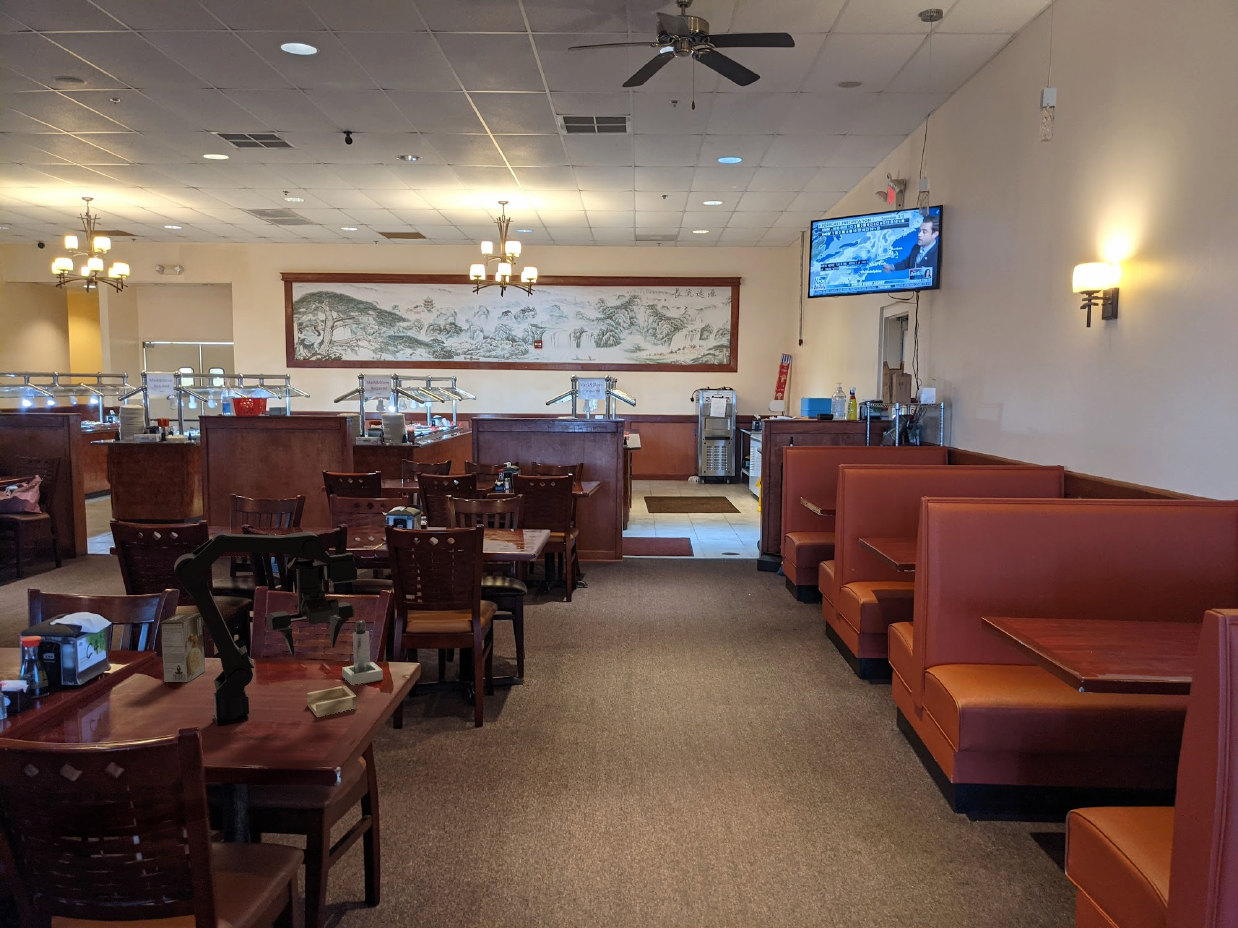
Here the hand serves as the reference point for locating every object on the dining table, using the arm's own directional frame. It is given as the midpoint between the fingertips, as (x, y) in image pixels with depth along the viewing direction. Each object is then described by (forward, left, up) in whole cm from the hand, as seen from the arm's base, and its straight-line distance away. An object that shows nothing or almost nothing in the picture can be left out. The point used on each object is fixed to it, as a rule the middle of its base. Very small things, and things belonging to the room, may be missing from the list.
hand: (312, 650), depth 200 cm
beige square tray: (+3, -4, -13) cm, 14 cm away
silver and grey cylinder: (+15, +12, -13) cm, 23 cm away
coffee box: (-23, +40, -13) cm, 48 cm away
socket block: (+15, +12, -13) cm, 23 cm away
